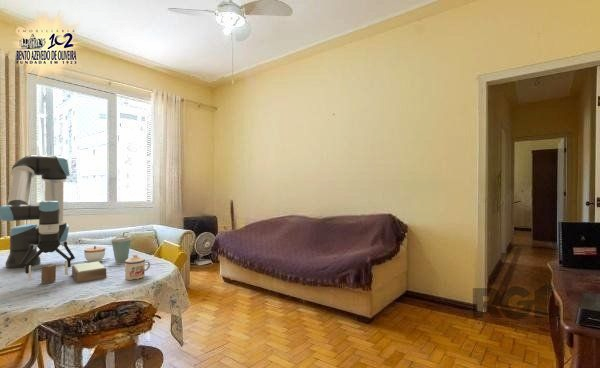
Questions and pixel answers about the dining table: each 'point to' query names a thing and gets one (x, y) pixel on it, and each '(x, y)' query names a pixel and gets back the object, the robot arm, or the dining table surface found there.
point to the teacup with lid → (135, 267)
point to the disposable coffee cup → (121, 248)
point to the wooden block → (48, 273)
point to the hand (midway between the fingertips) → (48, 277)
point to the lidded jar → (94, 254)
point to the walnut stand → (88, 271)
